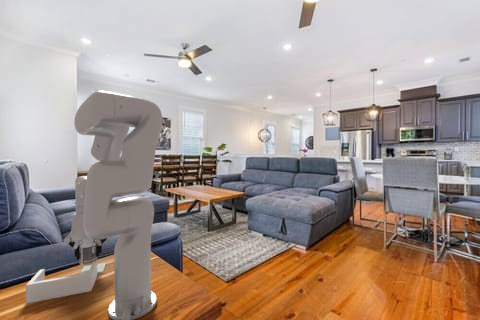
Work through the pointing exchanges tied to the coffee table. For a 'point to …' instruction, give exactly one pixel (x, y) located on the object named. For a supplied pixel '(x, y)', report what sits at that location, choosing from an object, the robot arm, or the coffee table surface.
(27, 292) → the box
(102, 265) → the tile
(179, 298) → the coffee table surface
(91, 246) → the pill bottle
